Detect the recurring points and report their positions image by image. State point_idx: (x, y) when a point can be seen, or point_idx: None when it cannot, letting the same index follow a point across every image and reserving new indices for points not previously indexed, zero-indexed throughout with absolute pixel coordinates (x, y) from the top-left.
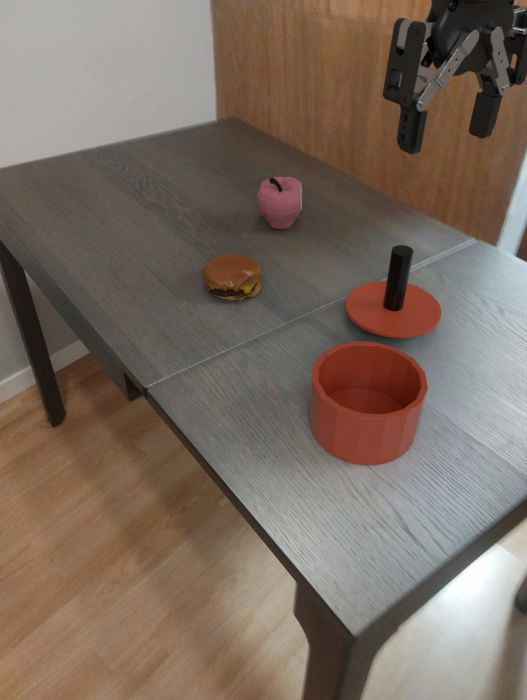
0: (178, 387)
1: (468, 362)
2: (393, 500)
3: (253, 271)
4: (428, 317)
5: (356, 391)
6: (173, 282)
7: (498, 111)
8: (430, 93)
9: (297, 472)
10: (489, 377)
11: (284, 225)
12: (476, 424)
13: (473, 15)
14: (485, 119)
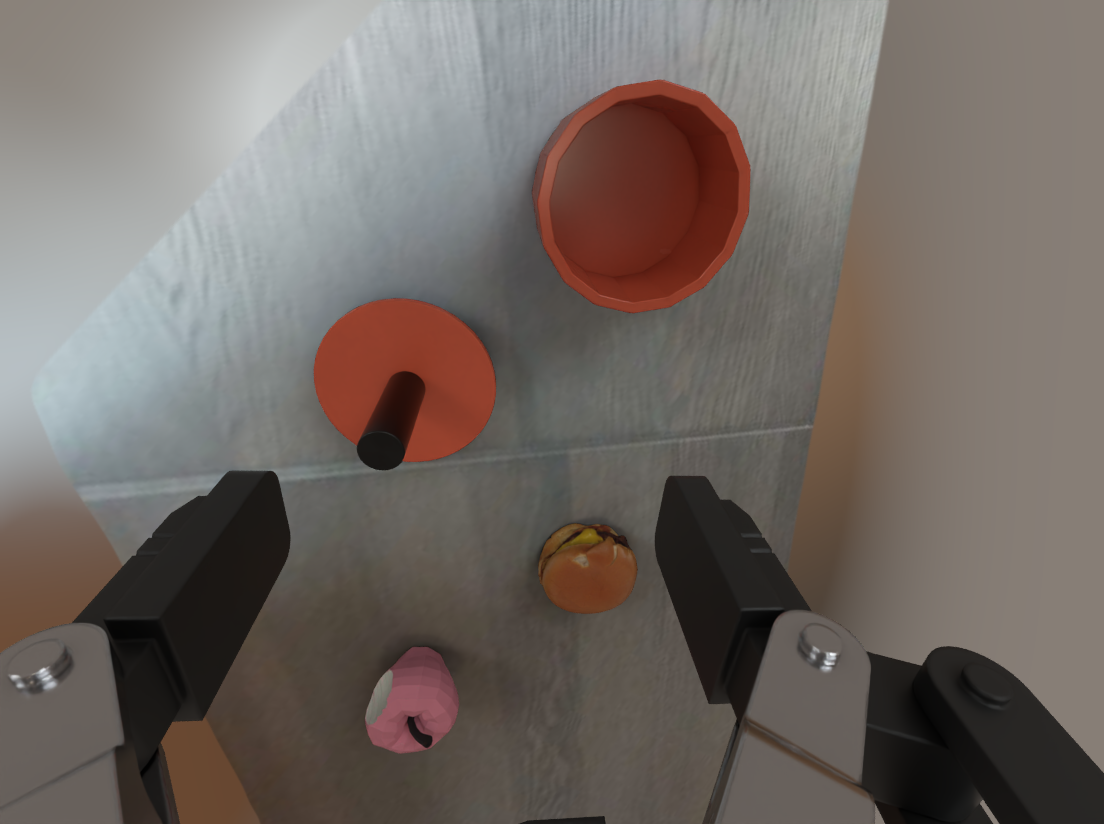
0: (782, 405)
1: (347, 211)
2: (694, 22)
3: (573, 560)
4: (366, 327)
5: (584, 257)
6: (651, 597)
7: (129, 560)
8: (804, 698)
9: (767, 167)
10: (338, 154)
11: (424, 651)
12: (450, 70)
13: None
14: (240, 540)
